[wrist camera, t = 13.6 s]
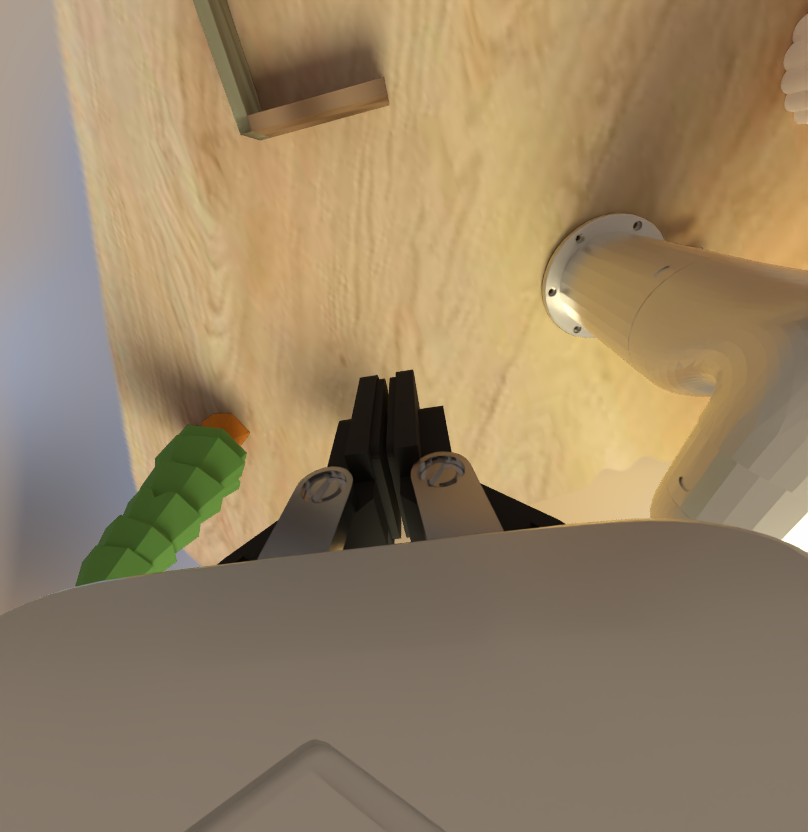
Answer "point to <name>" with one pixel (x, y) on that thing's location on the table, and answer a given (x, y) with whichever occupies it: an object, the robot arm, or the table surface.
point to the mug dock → (243, 93)
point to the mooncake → (797, 74)
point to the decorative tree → (171, 501)
